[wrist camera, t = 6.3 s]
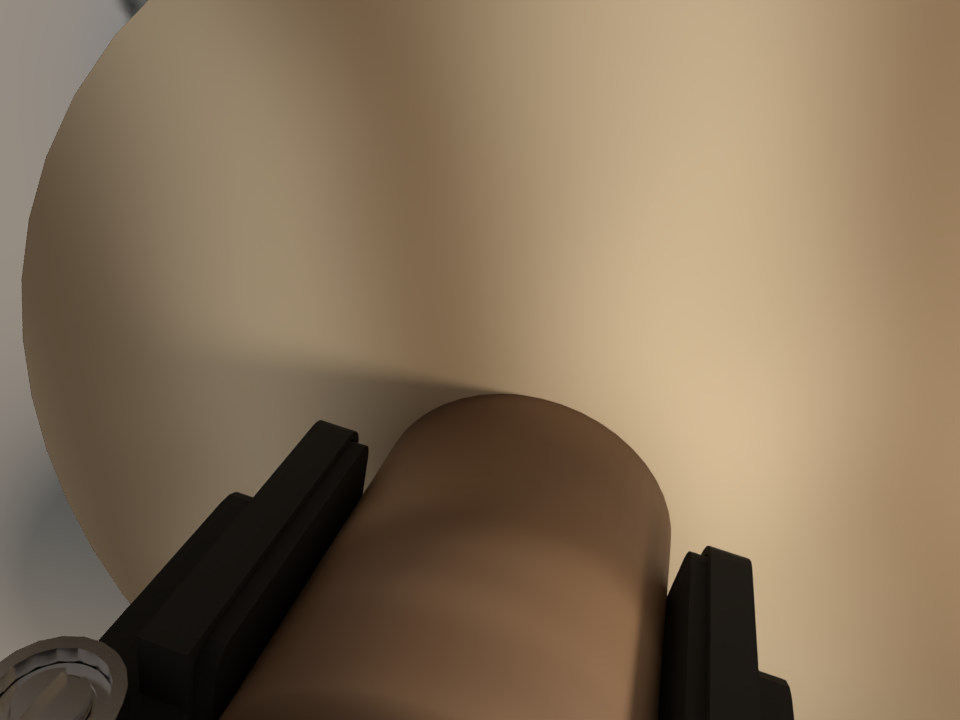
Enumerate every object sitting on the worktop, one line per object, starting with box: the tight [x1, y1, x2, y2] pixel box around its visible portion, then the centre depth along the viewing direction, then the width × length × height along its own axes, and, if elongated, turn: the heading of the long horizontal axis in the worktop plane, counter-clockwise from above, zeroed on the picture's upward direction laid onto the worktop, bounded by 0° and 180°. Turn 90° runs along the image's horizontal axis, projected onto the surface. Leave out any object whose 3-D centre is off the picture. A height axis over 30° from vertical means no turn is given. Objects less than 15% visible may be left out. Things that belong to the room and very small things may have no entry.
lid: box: [22, 0, 960, 720], centre depth 10 cm, size 17×17×6 cm
